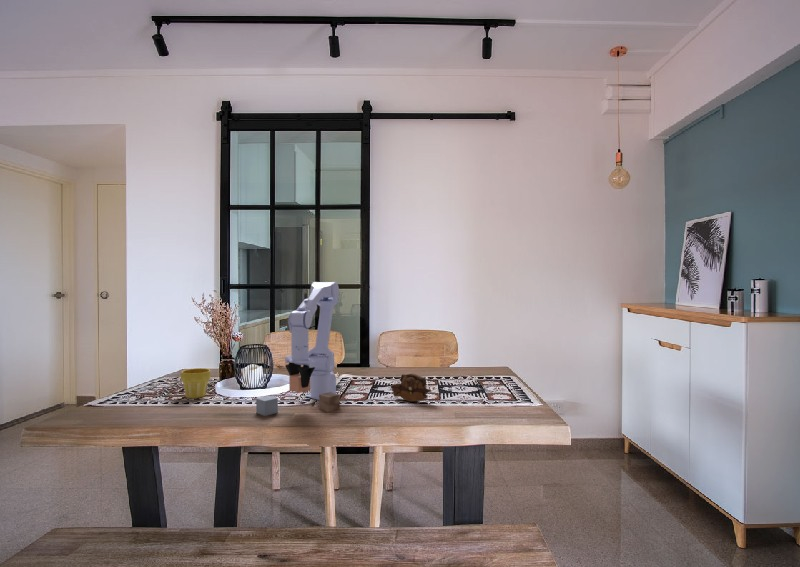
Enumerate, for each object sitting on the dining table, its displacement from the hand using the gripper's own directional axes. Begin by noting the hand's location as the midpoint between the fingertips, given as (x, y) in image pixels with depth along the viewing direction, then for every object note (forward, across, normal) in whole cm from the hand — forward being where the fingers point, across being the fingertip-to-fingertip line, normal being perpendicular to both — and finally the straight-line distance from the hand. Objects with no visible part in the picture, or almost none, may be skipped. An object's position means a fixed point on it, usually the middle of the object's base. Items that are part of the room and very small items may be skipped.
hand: (300, 385), depth 156 cm
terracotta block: (+2, 0, 0) cm, 2 cm away
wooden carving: (+9, +21, +34) cm, 41 cm away
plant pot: (+9, -45, -15) cm, 48 cm away
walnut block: (+8, +6, +8) cm, 13 cm away
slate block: (+8, -6, -9) cm, 14 cm away
